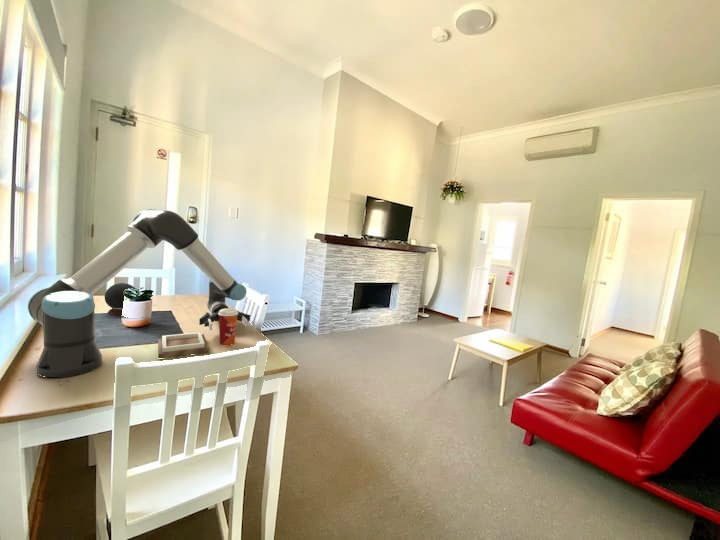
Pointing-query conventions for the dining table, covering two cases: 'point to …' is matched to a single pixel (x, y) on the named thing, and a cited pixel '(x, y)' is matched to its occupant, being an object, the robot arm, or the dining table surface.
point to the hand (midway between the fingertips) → (229, 325)
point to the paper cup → (227, 325)
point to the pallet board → (182, 345)
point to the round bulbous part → (116, 298)
